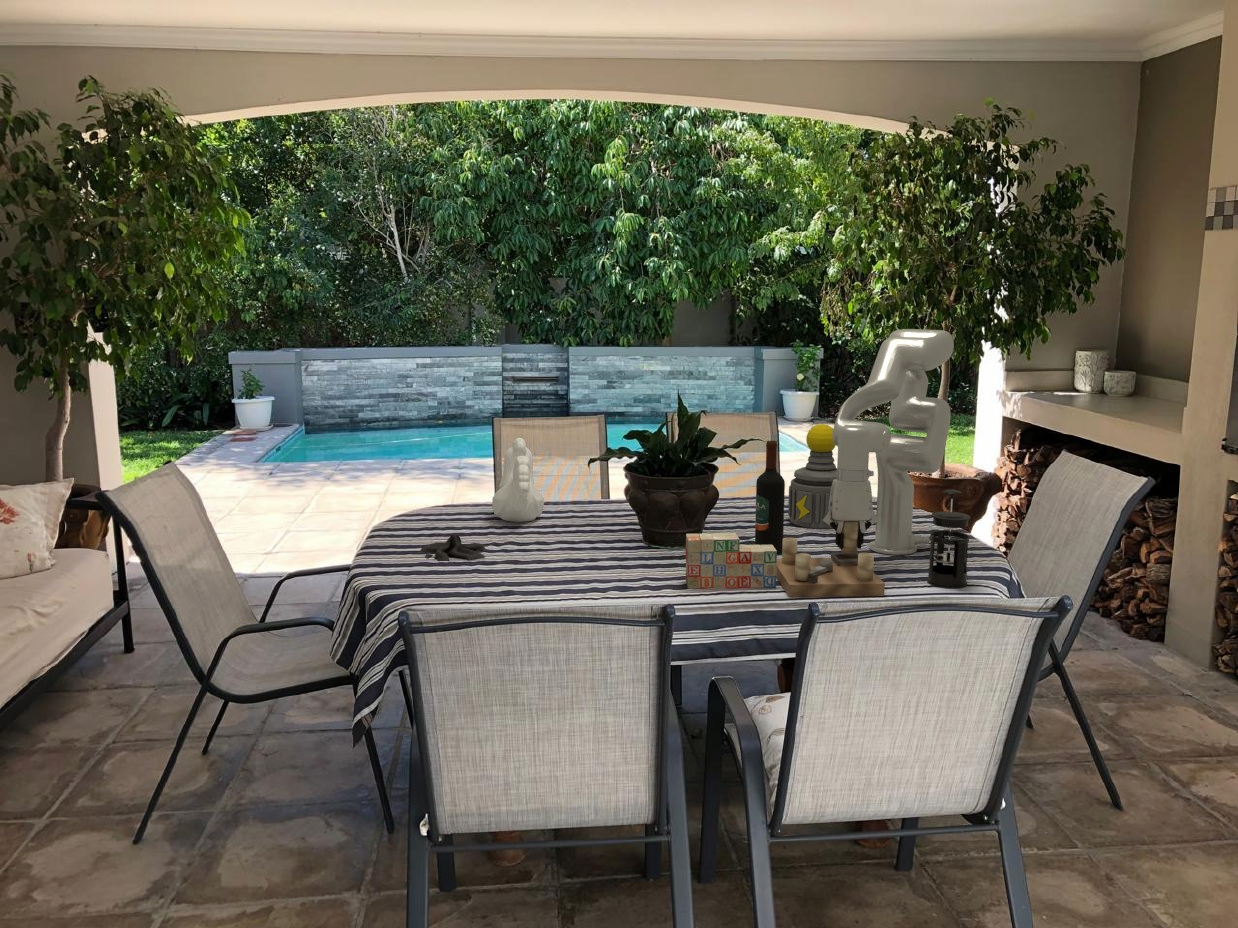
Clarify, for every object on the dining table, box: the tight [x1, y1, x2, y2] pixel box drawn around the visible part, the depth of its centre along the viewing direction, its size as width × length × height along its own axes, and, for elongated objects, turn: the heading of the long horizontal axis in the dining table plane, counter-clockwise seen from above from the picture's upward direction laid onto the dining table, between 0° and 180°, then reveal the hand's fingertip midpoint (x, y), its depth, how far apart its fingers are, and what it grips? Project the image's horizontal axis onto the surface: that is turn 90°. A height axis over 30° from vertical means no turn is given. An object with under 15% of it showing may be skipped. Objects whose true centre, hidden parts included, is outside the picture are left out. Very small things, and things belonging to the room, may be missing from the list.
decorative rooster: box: [491, 437, 545, 523], centre depth 317 cm, size 25×16×25 cm, turn 179°
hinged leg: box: [795, 553, 833, 581], centre depth 253 cm, size 14×4×6 cm, turn 138°
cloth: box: [418, 532, 487, 562], centre depth 283 cm, size 22×19×6 cm
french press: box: [926, 489, 971, 590], centre depth 255 cm, size 12×9×23 cm
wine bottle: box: [754, 440, 786, 555], centre depth 284 cm, size 8×8×30 cm
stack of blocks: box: [684, 532, 778, 590], centre depth 255 cm, size 21×6×12 cm, turn 91°
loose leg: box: [840, 521, 859, 554], centre depth 264 cm, size 4×4×8 cm
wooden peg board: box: [776, 537, 886, 598], centre depth 257 cm, size 22×22×9 cm
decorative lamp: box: [787, 423, 837, 530], centre depth 317 cm, size 19×19×30 cm
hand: (849, 546), depth 264 cm, fingers closed on loose leg, 4 cm apart
